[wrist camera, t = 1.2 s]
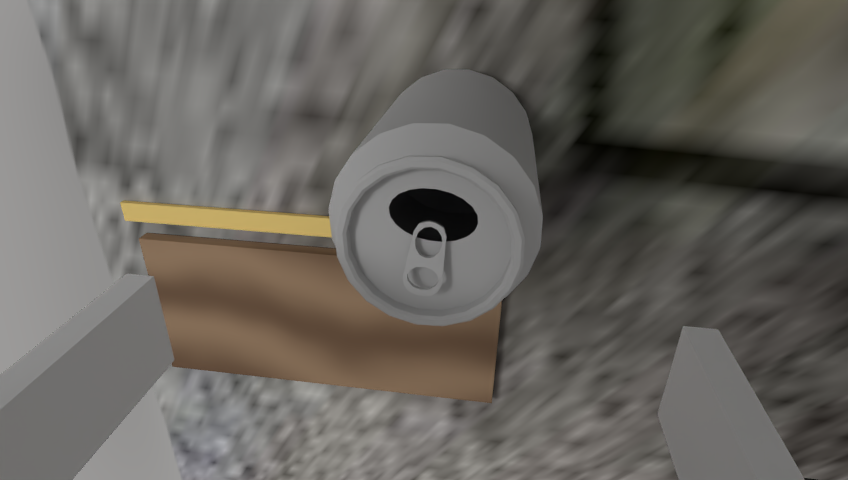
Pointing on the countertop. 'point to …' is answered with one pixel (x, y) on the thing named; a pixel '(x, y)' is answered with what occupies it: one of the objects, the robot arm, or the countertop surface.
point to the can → (440, 201)
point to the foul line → (227, 218)
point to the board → (306, 321)
